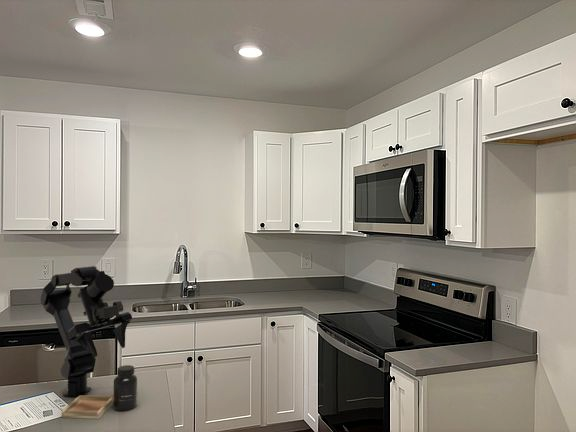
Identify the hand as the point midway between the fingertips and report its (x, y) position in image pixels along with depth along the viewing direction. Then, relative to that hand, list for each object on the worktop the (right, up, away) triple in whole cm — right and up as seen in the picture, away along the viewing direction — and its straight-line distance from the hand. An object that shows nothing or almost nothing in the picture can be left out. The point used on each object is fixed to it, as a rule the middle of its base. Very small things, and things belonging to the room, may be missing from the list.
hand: (110, 352), depth 136 cm
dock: (-6, -17, 0) cm, 18 cm away
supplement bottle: (+4, -18, +2) cm, 18 cm away
